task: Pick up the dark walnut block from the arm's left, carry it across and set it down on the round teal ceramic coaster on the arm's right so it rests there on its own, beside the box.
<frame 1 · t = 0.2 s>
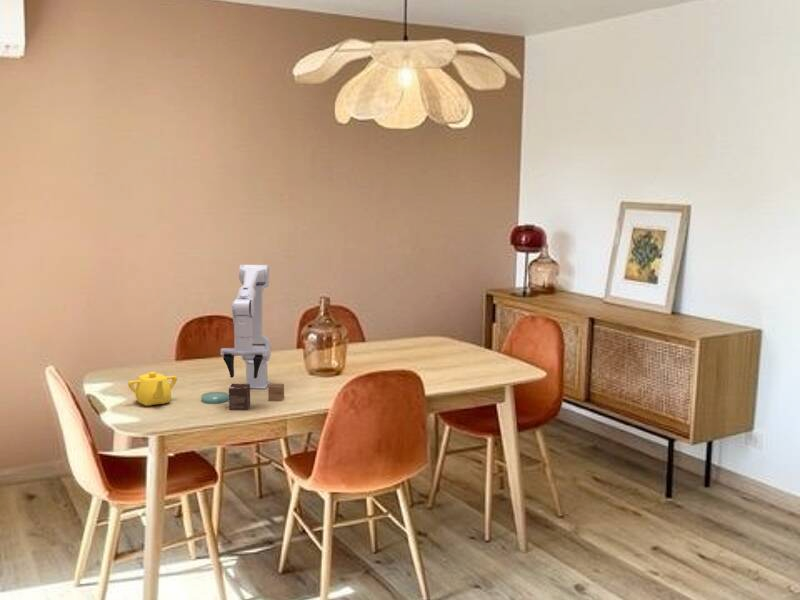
hand: (243, 377, 265), 10 cm above the table, fingers open, 7 cm apart
walnut block: (276, 399, 276), on the table
coaster: (215, 401, 274), on the table
teapot: (154, 403, 270), on the table
box: (239, 408, 266), on the table
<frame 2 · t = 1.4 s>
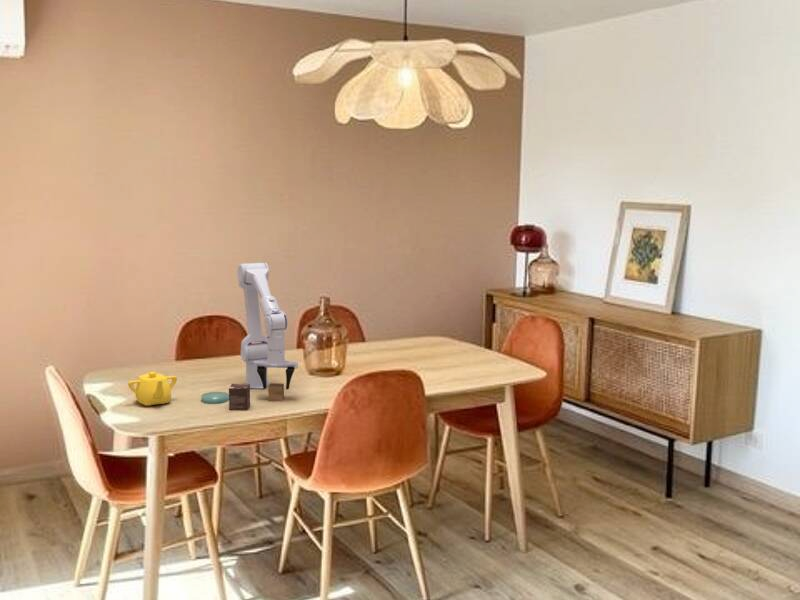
hand: (276, 388, 276), 4 cm above the table, fingers open, 7 cm apart
nothing on the table moved.
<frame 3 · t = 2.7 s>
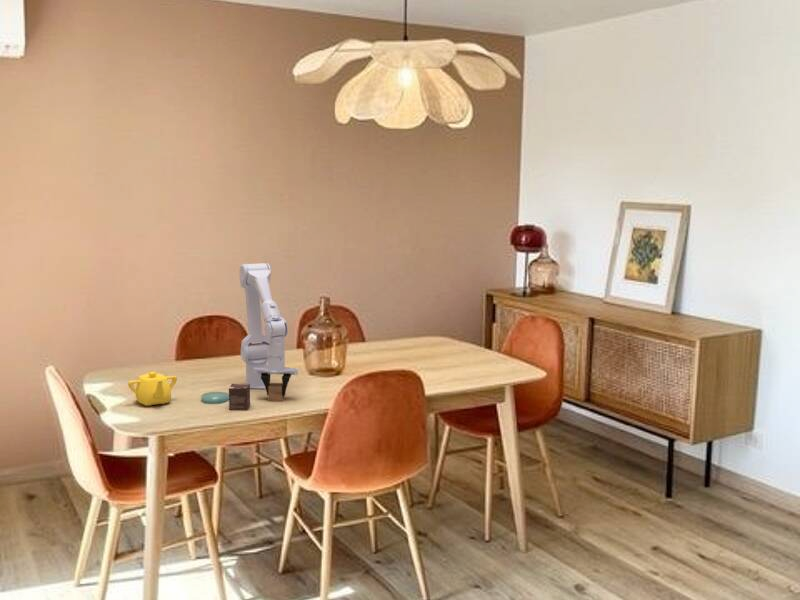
hand: (276, 395, 276), 1 cm above the table, fingers closed on walnut block, 4 cm apart
walnut block: (276, 399, 276), on the table, touching gripper
everything else where it was.
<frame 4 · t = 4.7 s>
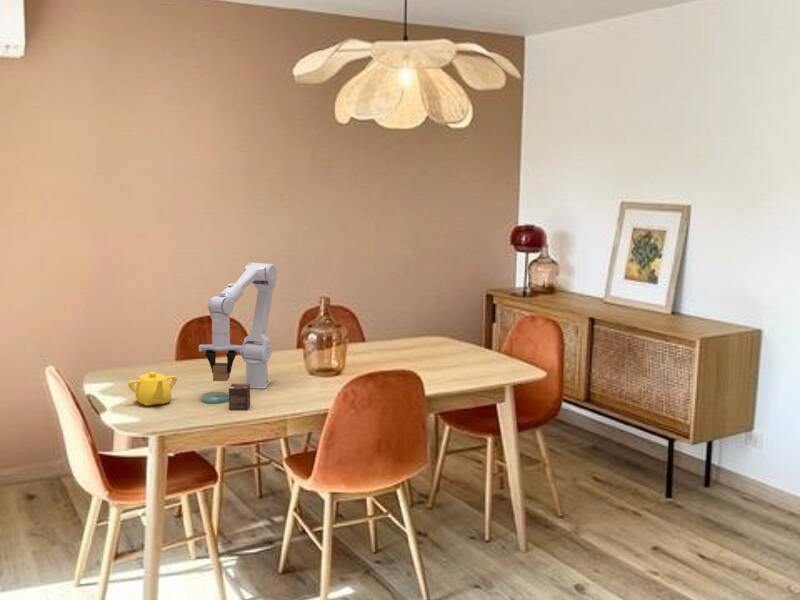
hand: (221, 372, 273), 9 cm above the table, fingers closed on walnut block, 4 cm apart
walnut block: (221, 379, 273), point 7 cm above the table, touching gripper
everything else where it was.
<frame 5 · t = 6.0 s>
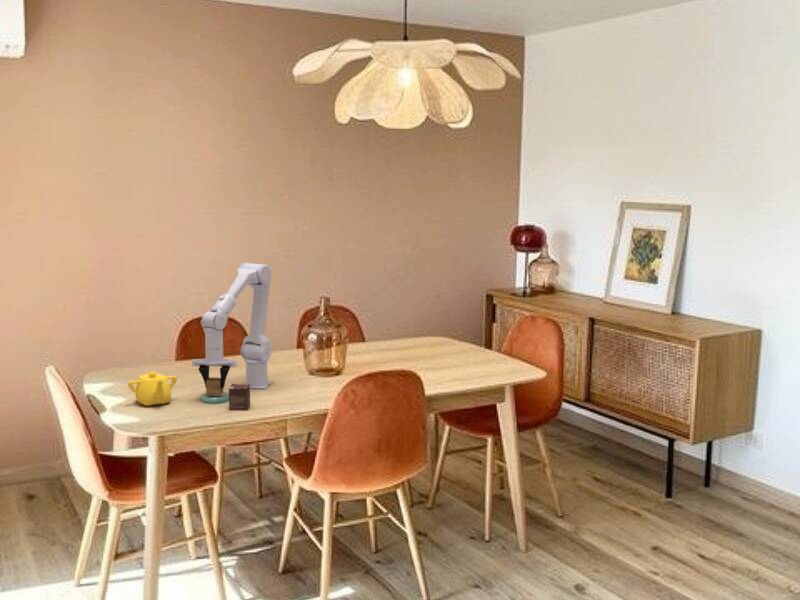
hand: (215, 387, 273), 4 cm above the table, fingers closed on walnut block, 4 cm apart
walnut block: (214, 393, 273), point 2 cm above the table, touching gripper
everything else where it was.
when the fingers open (4 cm above the table, at t = 6.8 s): walnut block stays where it is, resting on coaster.
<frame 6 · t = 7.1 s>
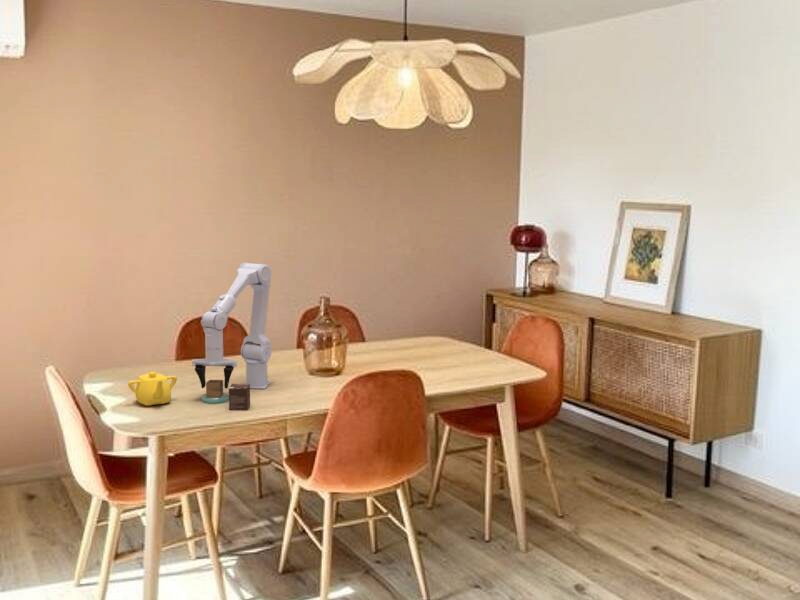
hand: (215, 387, 273), 4 cm above the table, fingers open, 7 cm apart
walnut block: (214, 396, 273), point 1 cm above the table, touching coaster
coaster: (215, 401, 274), on the table, touching walnut block
everything else where it was.
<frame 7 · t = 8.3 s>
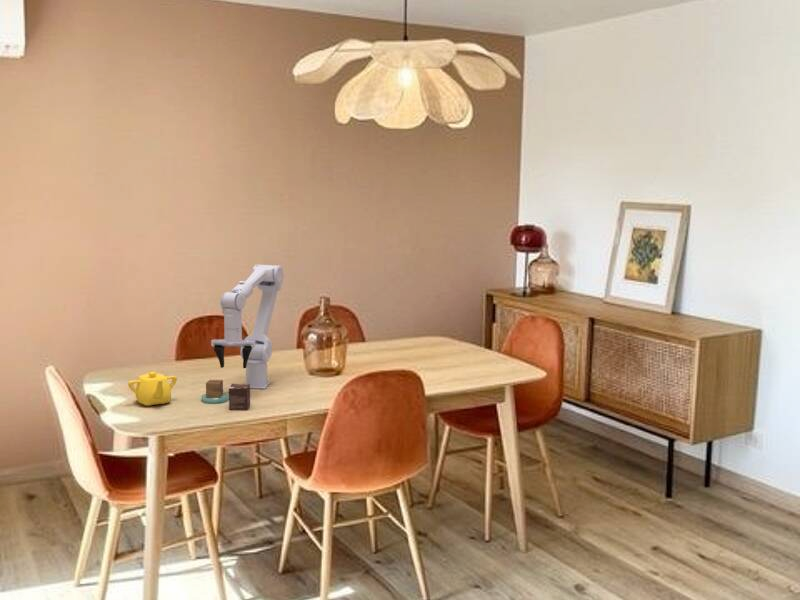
hand: (233, 367, 277), 10 cm above the table, fingers open, 7 cm apart
nothing on the table moved.
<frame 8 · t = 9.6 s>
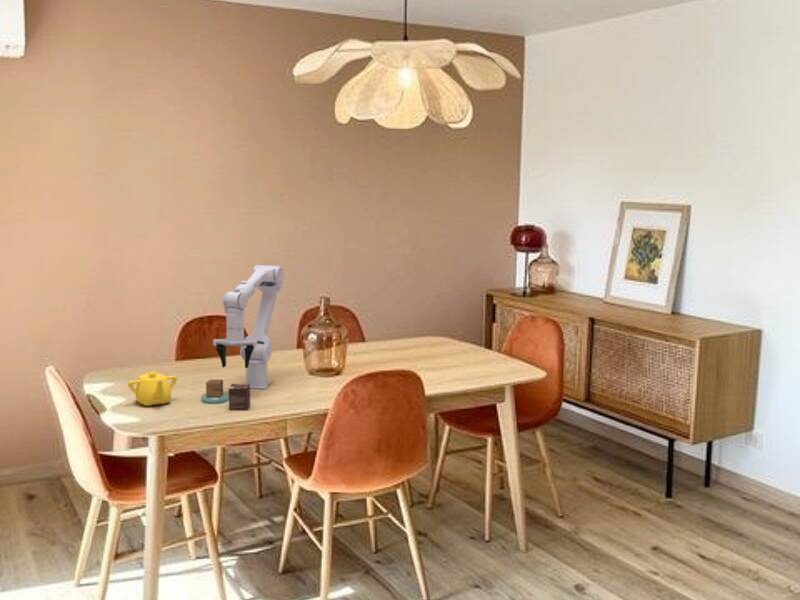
hand: (235, 366, 277), 10 cm above the table, fingers open, 7 cm apart
walnut block: (214, 395, 274), point 2 cm above the table
coaster: (215, 401, 274), on the table
everything else where it was.
at the end: walnut block 0.3 cm off-centre on the coaster, point 2.0 cm above the coaster's base; walnut block tilted 0°; walnut block touching coaster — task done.
